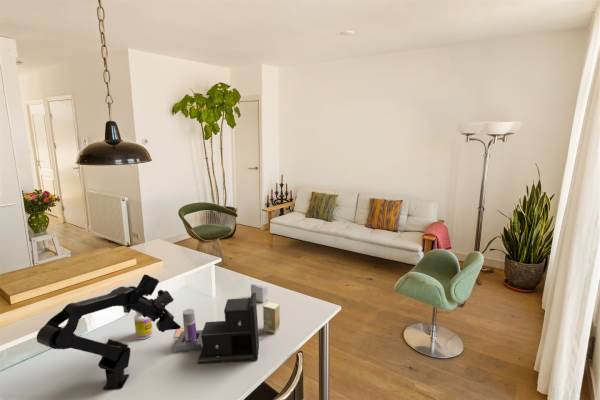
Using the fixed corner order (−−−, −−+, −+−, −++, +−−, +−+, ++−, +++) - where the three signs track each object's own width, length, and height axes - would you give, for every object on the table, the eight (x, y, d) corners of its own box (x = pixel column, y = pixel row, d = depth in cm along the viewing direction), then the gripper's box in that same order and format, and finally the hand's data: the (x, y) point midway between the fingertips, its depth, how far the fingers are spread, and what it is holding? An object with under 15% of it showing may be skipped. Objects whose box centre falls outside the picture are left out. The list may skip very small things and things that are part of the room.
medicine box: (268, 299, 180) (267, 284, 178) (263, 303, 176) (262, 288, 174) (256, 296, 184) (255, 281, 182) (251, 299, 180) (250, 284, 178)
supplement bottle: (146, 340, 146) (143, 313, 144) (133, 339, 147) (129, 312, 145) (156, 331, 153) (153, 305, 150) (143, 330, 154) (139, 304, 151)
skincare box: (263, 331, 152) (262, 305, 149) (268, 326, 155) (267, 301, 153) (275, 334, 149) (275, 308, 146) (280, 329, 153) (279, 304, 150)
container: (198, 340, 146) (195, 308, 143) (195, 347, 141) (192, 314, 138) (187, 340, 145) (184, 308, 142) (184, 347, 141) (180, 314, 138)
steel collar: (201, 350, 139) (200, 344, 138) (175, 352, 138) (175, 346, 137) (205, 336, 149) (205, 329, 148) (181, 337, 148) (181, 331, 147)
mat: (190, 336, 148) (190, 335, 148) (174, 337, 148) (174, 337, 148) (193, 327, 155) (193, 326, 155) (178, 328, 155) (178, 328, 155)
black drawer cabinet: (196, 364, 131) (191, 308, 126) (203, 347, 141) (198, 294, 137) (257, 361, 132) (255, 305, 127) (259, 344, 142) (256, 292, 138)
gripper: (165, 297, 124) (197, 314, 133) (152, 280, 139) (182, 296, 148) (144, 324, 121) (178, 340, 130) (134, 303, 136) (165, 319, 145)
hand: (176, 322), depth 138 cm, fingers open, 9 cm apart
